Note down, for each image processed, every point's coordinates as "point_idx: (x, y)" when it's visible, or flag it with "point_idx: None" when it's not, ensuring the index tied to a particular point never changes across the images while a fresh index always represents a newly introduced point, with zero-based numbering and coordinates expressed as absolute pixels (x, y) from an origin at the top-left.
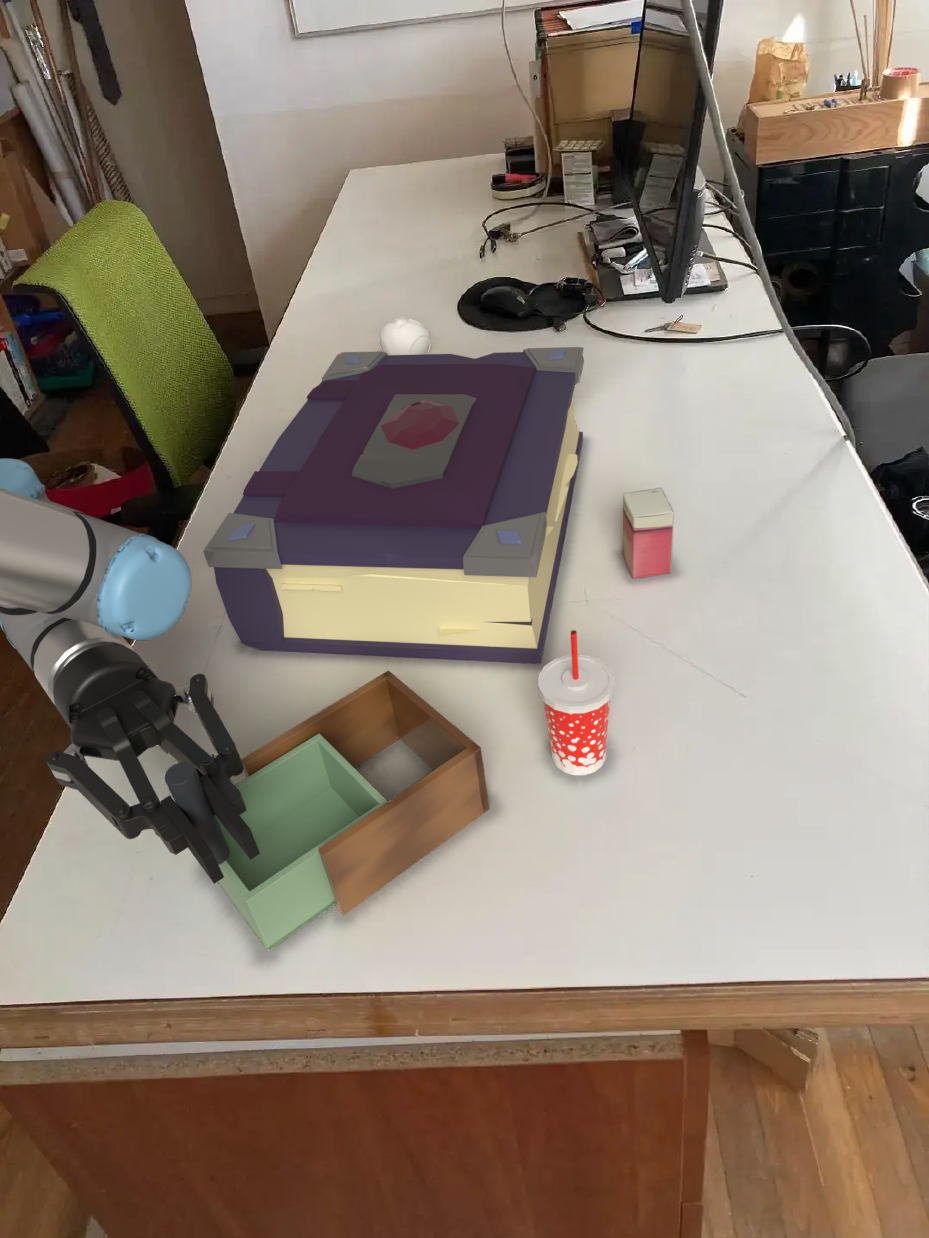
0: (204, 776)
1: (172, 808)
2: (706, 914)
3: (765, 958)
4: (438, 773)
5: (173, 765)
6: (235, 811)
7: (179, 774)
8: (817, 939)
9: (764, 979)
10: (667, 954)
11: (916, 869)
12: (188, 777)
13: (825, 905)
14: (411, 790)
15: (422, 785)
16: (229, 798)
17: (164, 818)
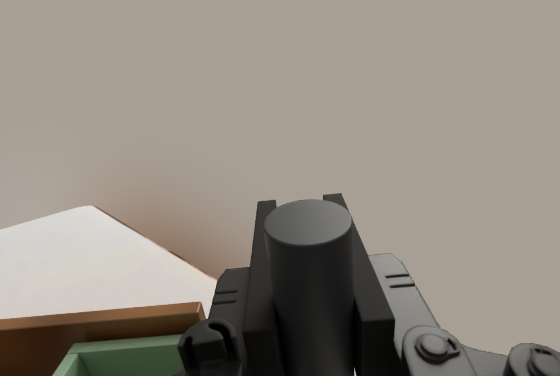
0: (250, 325)
1: (365, 280)
2: (84, 247)
3: (103, 225)
4: (3, 321)
5: (310, 243)
6: (256, 225)
7: (308, 216)
8: (82, 222)
9: (116, 221)
10: (121, 243)
11: (20, 224)
12: (292, 203)
13: (58, 229)
14: (47, 319)
15: (33, 318)
16: (243, 279)
17: (394, 305)
